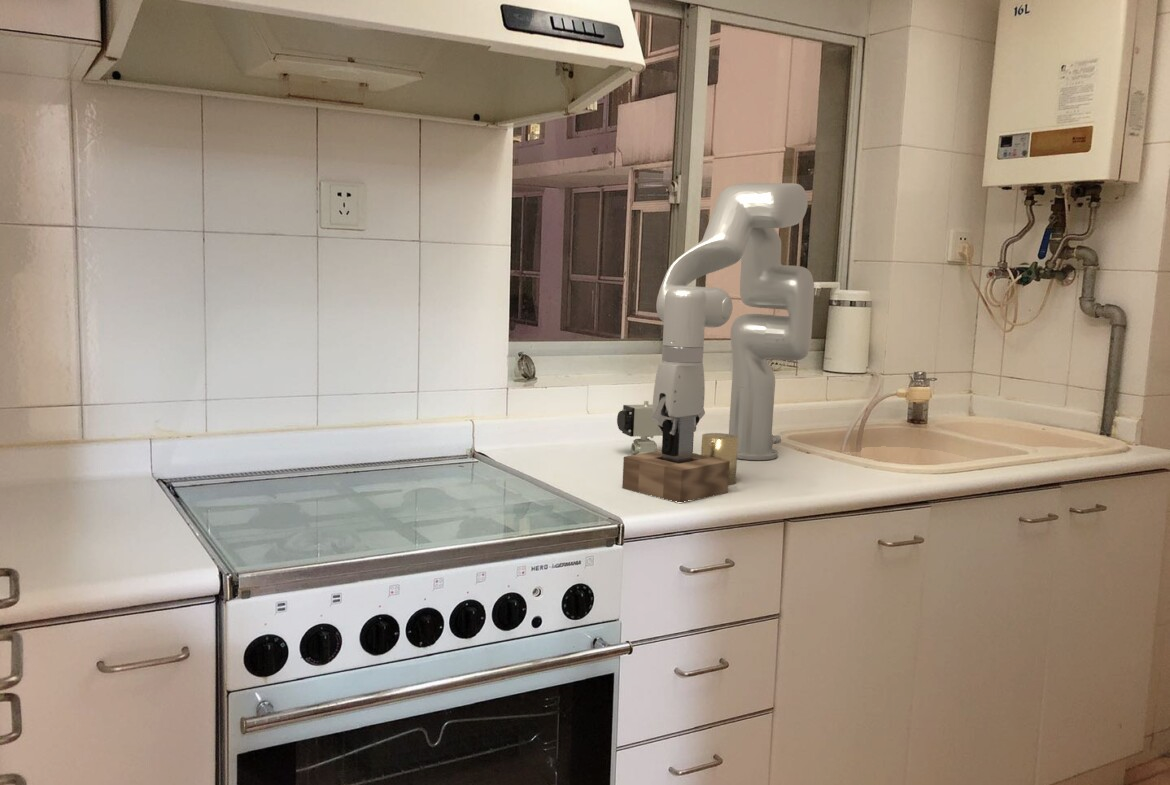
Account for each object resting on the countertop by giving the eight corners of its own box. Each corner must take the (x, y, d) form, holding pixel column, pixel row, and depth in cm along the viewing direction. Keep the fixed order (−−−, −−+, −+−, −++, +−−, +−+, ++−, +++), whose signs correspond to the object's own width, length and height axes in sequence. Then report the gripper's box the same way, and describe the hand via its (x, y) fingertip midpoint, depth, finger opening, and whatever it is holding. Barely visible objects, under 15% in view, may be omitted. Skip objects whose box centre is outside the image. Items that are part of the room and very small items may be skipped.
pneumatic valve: (672, 456, 216) (675, 402, 214) (623, 458, 211) (626, 403, 210) (661, 451, 221) (664, 398, 219) (613, 453, 217) (615, 399, 215)
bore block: (670, 478, 194) (672, 448, 193) (727, 492, 184) (729, 461, 183) (622, 488, 184) (623, 456, 183) (679, 503, 174) (681, 470, 173)
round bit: (714, 475, 198) (716, 431, 197) (742, 482, 193) (745, 437, 192) (692, 480, 193) (694, 435, 192) (721, 487, 188) (723, 441, 187)
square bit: (674, 474, 187) (677, 412, 185) (690, 478, 184) (694, 415, 182) (660, 477, 184) (663, 413, 182) (677, 481, 181) (680, 416, 179)
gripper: (695, 351, 189) (689, 445, 192) (636, 355, 177) (632, 455, 180) (726, 355, 184) (720, 451, 186) (668, 360, 172) (663, 462, 175)
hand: (677, 452), depth 183 cm, fingers closed on square bit, 3 cm apart
